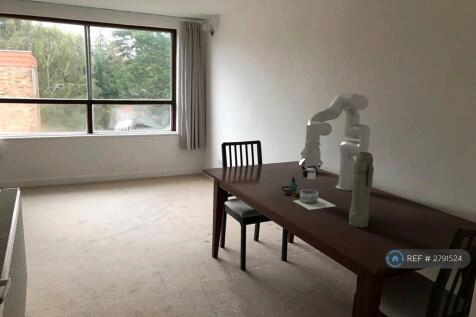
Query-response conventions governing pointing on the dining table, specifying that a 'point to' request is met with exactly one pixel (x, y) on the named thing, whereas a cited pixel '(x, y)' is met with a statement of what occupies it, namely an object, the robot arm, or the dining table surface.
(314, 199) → the grey ring
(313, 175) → the cap
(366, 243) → the dining table surface
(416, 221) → the dining table surface
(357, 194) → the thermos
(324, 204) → the mat
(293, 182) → the binoculars
